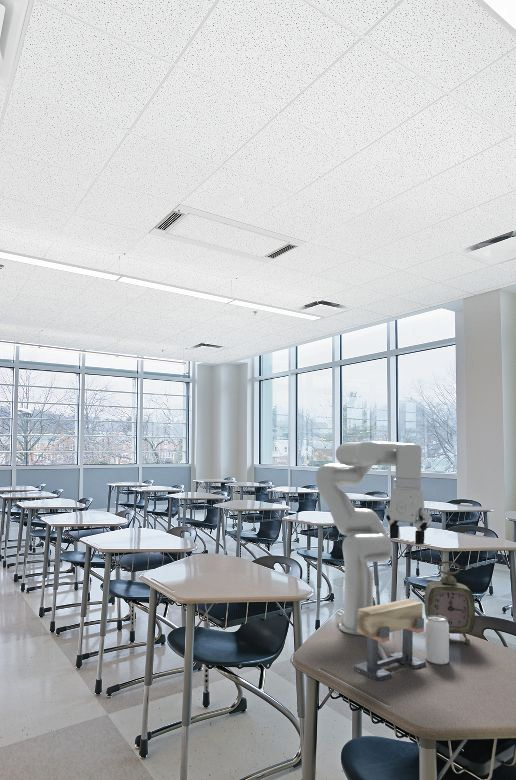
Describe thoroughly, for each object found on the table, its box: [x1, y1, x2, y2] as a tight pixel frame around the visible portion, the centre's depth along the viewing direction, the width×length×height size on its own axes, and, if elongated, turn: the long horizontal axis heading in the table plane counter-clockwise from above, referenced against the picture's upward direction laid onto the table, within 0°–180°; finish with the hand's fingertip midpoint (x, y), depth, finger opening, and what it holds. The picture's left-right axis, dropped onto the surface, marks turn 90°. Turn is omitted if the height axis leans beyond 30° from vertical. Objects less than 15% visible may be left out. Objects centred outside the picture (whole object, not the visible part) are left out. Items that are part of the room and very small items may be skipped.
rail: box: [357, 598, 423, 637], centre depth 151 cm, size 5×22×6 cm, turn 127°
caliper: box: [378, 641, 389, 660], centre depth 161 cm, size 20×1×6 cm, turn 4°
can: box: [425, 615, 450, 666], centre depth 157 cm, size 6×6×12 cm
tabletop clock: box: [423, 560, 476, 645], centre depth 176 cm, size 14×9×25 cm, turn 82°
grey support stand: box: [353, 617, 427, 682], centre depth 150 cm, size 9×20×13 cm, turn 127°
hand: (406, 541), depth 162 cm, fingers open, 9 cm apart
